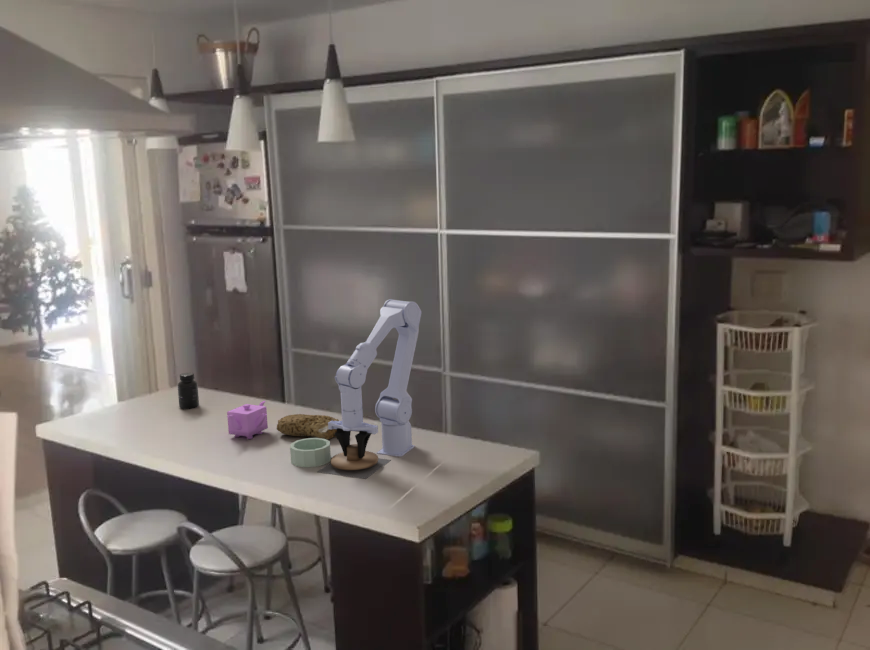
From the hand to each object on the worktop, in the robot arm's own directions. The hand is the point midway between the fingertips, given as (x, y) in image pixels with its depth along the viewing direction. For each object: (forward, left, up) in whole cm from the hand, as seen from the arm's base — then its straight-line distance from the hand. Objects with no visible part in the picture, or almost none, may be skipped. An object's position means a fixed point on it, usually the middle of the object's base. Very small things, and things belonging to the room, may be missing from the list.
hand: (354, 456), depth 222 cm
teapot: (-14, -45, -3) cm, 47 cm away
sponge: (-20, -27, -4) cm, 33 cm away
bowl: (0, -14, -3) cm, 14 cm away
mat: (0, 0, -3) cm, 3 cm away
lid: (0, 0, -2) cm, 2 cm away
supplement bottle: (-33, -85, -3) cm, 91 cm away
